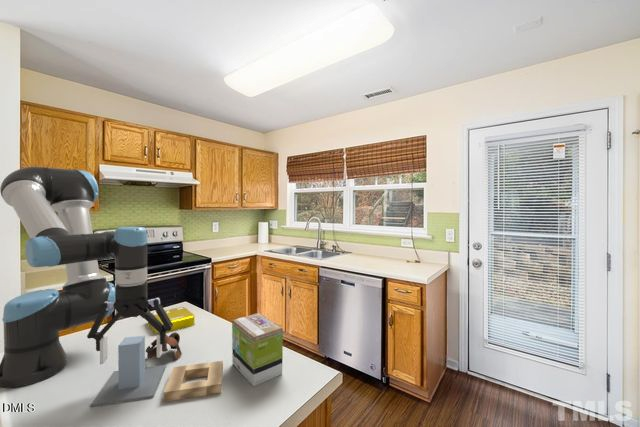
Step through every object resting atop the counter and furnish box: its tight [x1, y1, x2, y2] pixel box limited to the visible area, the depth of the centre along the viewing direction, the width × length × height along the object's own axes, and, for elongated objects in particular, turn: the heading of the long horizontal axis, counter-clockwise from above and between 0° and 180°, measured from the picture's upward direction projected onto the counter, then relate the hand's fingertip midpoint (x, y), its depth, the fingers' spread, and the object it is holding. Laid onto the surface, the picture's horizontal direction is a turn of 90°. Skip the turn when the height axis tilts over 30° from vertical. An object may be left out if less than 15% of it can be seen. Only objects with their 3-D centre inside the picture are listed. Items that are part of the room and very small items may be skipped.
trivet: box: [89, 364, 167, 408], centre depth 83 cm, size 14×15×1 cm
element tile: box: [147, 306, 195, 335], centre depth 123 cm, size 15×15×5 cm
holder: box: [163, 360, 224, 402], centre depth 83 cm, size 14×12×2 cm
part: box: [117, 335, 146, 389], centre depth 82 cm, size 5×5×12 cm
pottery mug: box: [145, 331, 183, 361], centre depth 98 cm, size 12×10×8 cm
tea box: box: [231, 312, 284, 387], centre depth 91 cm, size 15×10×15 cm, turn 40°
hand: (132, 358), depth 82 cm, fingers open, 13 cm apart
